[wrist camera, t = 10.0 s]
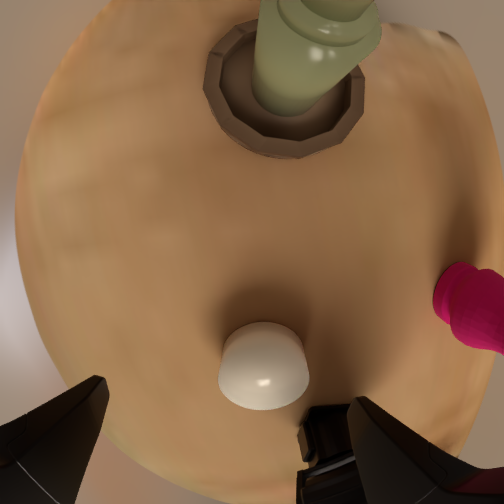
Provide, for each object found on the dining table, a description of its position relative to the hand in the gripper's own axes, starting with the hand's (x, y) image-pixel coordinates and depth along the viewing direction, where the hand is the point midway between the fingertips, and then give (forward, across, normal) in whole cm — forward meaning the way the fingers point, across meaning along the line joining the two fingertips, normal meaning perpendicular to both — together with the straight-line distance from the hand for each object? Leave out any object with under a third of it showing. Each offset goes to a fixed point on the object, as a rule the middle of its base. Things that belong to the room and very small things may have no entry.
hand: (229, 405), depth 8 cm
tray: (+13, -2, -14) cm, 20 cm away
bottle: (+12, -2, -14) cm, 19 cm away
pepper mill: (+13, -22, 0) cm, 26 cm away
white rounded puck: (+13, -3, +7) cm, 15 cm away
